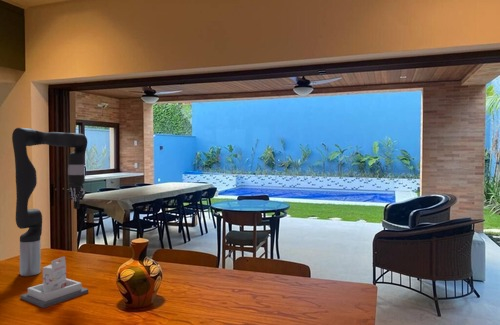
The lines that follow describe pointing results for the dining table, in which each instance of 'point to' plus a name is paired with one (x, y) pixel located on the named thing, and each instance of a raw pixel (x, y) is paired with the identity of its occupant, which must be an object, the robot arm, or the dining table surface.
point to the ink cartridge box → (54, 275)
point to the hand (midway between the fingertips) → (76, 208)
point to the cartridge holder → (54, 294)
